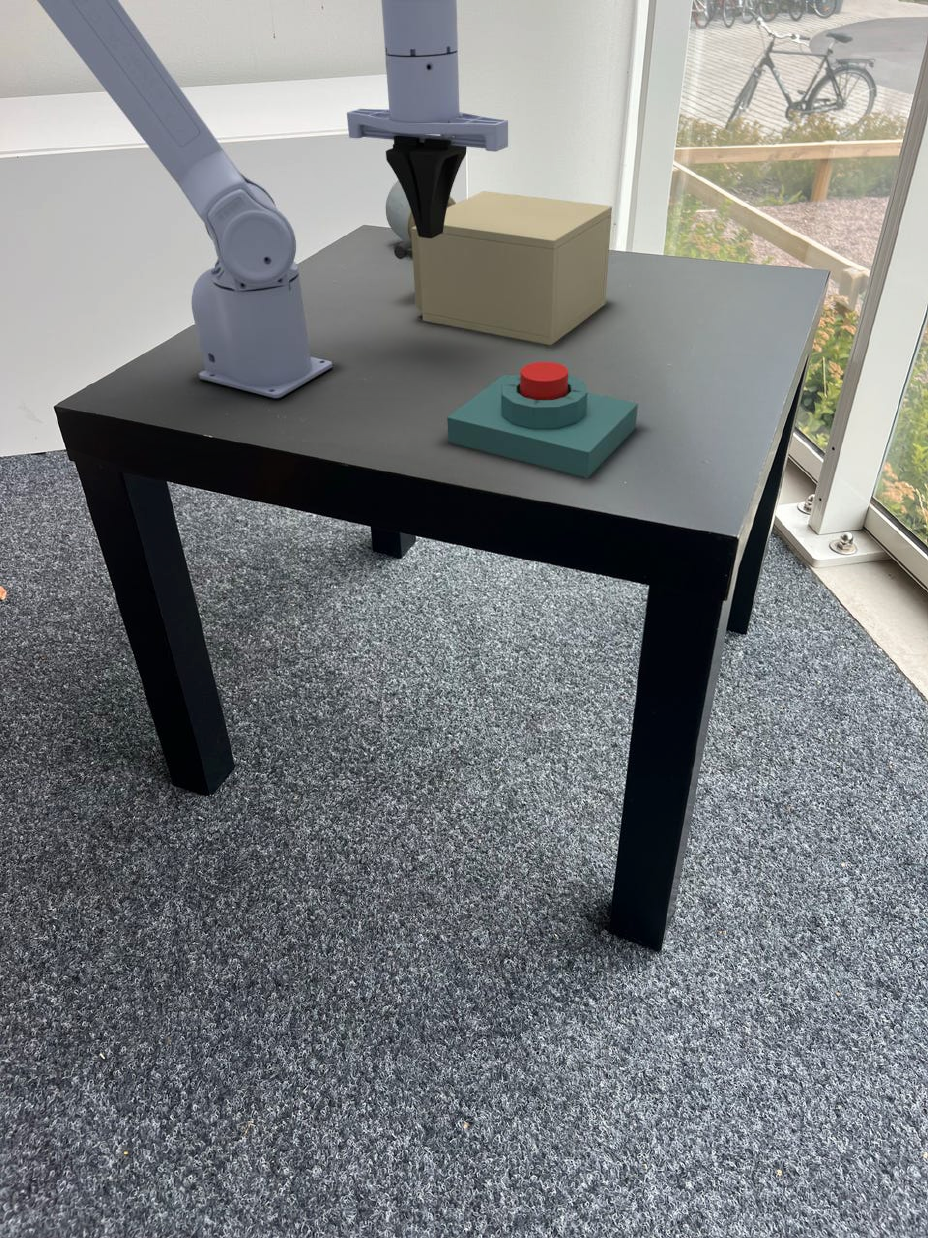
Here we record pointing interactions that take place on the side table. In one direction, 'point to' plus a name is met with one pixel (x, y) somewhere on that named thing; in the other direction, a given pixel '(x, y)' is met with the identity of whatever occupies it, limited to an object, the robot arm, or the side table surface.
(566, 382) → the button
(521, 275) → the tan drawer box
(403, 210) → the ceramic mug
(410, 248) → the pulled-out drawer
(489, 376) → the side table surface
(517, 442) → the panel
